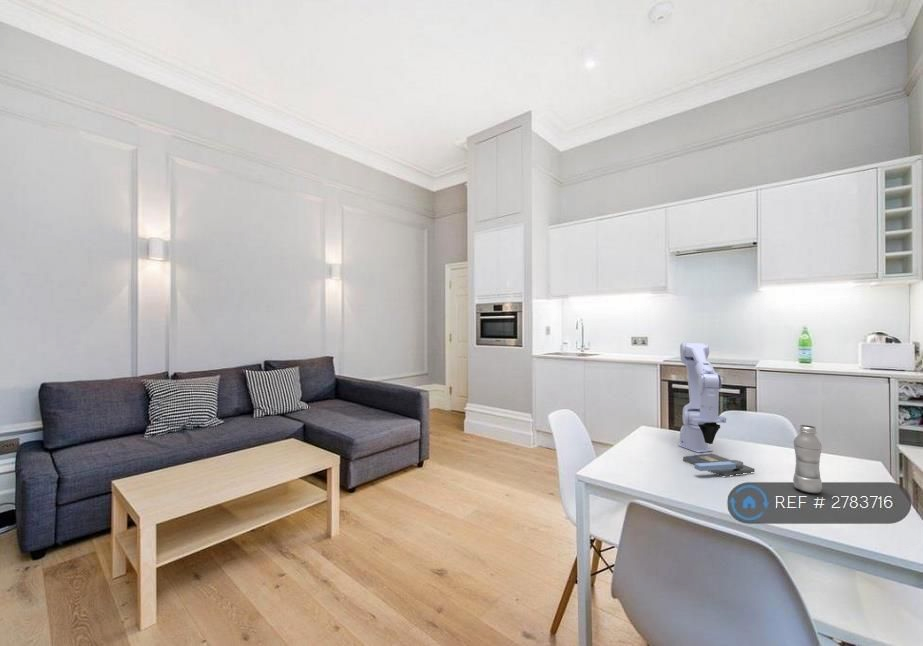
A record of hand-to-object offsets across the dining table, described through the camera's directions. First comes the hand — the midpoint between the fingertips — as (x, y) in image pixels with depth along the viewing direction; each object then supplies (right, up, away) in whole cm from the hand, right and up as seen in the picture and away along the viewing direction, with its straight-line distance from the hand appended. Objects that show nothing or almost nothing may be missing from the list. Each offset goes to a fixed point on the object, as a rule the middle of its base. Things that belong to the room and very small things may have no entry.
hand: (708, 443), depth 140 cm
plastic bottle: (+15, -8, -23) cm, 29 cm away
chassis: (+1, -7, -3) cm, 8 cm away
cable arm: (-4, -5, -11) cm, 13 cm away
